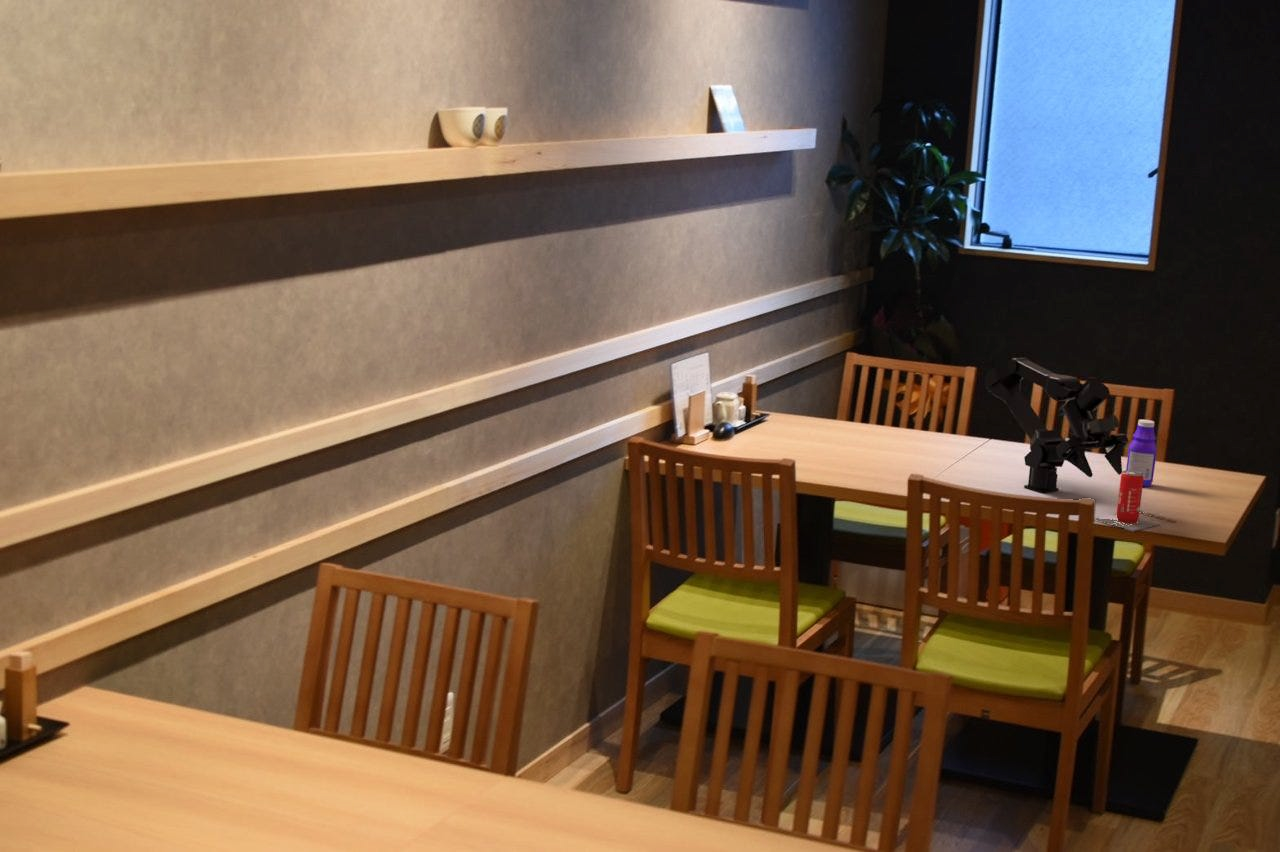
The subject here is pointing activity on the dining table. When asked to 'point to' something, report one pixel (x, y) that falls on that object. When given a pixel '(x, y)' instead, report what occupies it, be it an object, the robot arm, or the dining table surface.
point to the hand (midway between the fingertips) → (1105, 475)
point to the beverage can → (1130, 496)
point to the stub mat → (1135, 526)
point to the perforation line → (1160, 517)
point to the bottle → (1143, 451)
